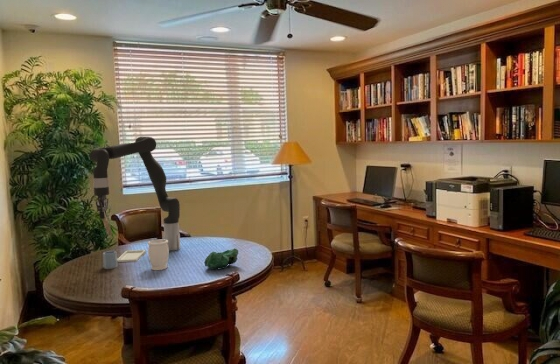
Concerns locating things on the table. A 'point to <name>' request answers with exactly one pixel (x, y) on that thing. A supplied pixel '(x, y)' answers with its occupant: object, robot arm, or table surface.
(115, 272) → the table surface
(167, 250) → the jar
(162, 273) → the table surface
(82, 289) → the table surface
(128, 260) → the tray
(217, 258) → the mineral
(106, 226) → the pin
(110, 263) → the cup
